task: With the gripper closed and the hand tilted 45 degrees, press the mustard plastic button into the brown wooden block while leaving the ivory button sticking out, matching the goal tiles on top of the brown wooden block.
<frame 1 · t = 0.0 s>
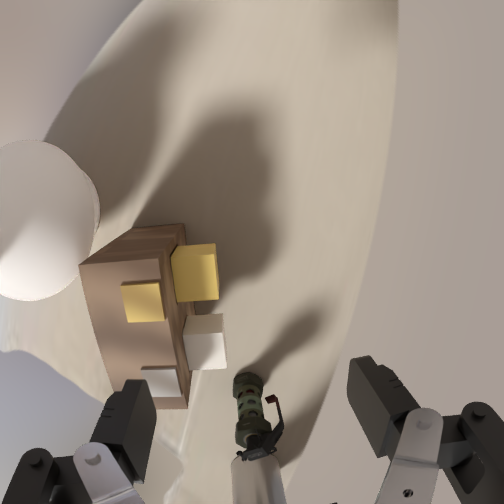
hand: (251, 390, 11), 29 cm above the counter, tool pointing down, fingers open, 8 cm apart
brown wooden block: (190, 280, 41), on the counter
ivory button: (197, 342, 33), point 9 cm above the counter, slide at 0.0 cm
mustard button: (186, 272, 31), point 9 cm above the counter, slide at 0.0 cm
grenade: (252, 382, 46), on the counter
decorative vase: (61, 209, 37), on the counter
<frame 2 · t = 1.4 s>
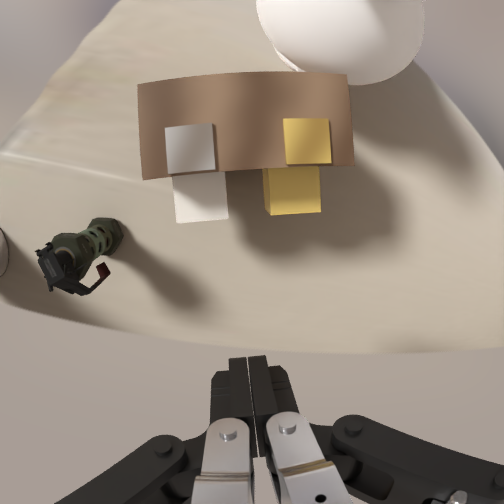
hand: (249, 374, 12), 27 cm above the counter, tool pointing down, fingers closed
brown wooden block: (240, 169, 36), on the counter
ivory button: (201, 184, 28), point 9 cm above the counter, slide at 0.0 cm
mustard button: (289, 177, 28), point 9 cm above the counter, slide at 0.0 cm
grenade: (107, 240, 37), on the counter
decorative vase: (319, 38, 33), on the counter
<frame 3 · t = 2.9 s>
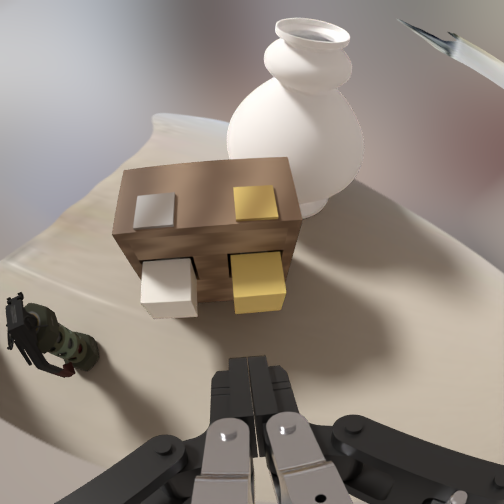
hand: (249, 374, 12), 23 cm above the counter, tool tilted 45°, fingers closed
brown wooden block: (219, 301, 38), on the counter
ivory button: (170, 280, 29), point 9 cm above the counter, slide at 0.0 cm
mustard button: (255, 274, 30), point 9 cm above the counter, slide at 0.0 cm
grenade: (84, 360, 33), on the counter
decorative vase: (288, 186, 47), on the counter
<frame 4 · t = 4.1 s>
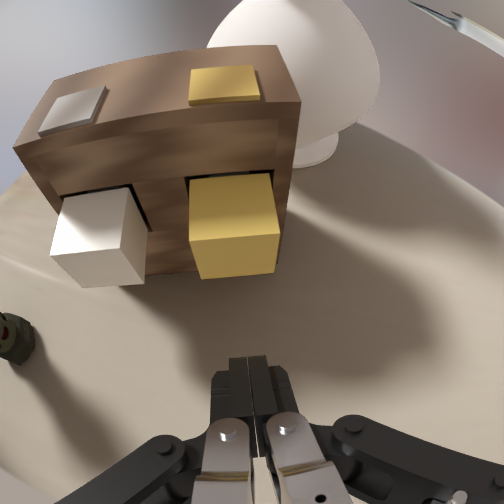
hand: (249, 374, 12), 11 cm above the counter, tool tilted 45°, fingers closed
brown wooden block: (189, 271, 27), on the counter
ivory button: (104, 227, 18), point 9 cm above the counter, slide at 0.0 cm
mustard button: (232, 213, 19), point 9 cm above the counter, slide at 0.0 cm
grenade: (18, 351, 22), on the counter
decorative vase: (285, 133, 36), on the counter
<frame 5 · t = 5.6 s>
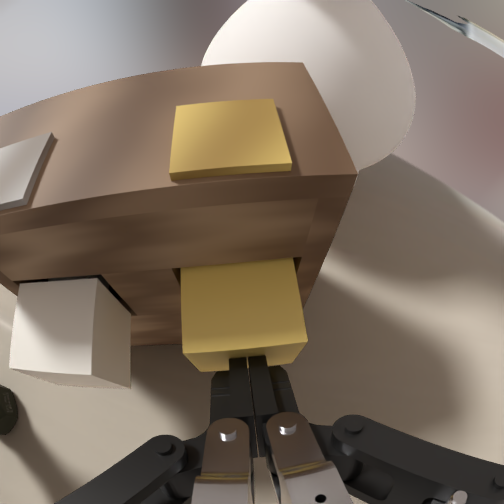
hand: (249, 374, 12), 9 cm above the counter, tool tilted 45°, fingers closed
brown wooden block: (186, 343, 22), on the counter
ivory button: (75, 319, 13), point 9 cm above the counter, slide at 0.0 cm
mustard button: (239, 293, 14), point 9 cm above the counter, slide at 0.8 cm, touching gripper
grenade: (2, 418, 17), on the counter
decorative vase: (297, 161, 31), on the counter
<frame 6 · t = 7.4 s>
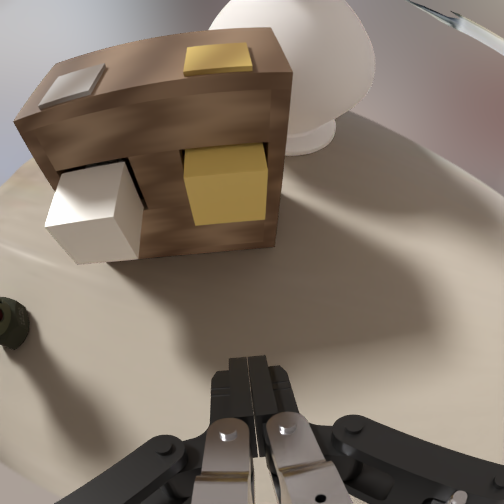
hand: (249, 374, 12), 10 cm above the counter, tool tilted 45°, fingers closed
brown wooden block: (186, 254, 27), on the counter
ivory button: (100, 202, 18), point 9 cm above the counter, slide at 0.0 cm
mustard button: (225, 164, 19), point 9 cm above the counter, slide at 2.0 cm
grenade: (13, 336, 22), on the counter
decorative vase: (283, 122, 36), on the counter
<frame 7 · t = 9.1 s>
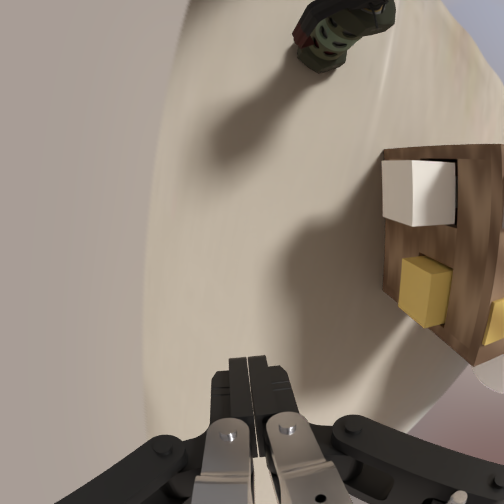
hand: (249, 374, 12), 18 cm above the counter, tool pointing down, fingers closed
brown wooden block: (385, 222, 31), on the counter
ivory button: (428, 190, 21), point 9 cm above the counter, slide at 0.0 cm
mustard button: (441, 287, 23), point 9 cm above the counter, slide at 2.0 cm
grenade: (309, 52, 26), on the counter
decorative vase: (480, 296, 35), on the counter
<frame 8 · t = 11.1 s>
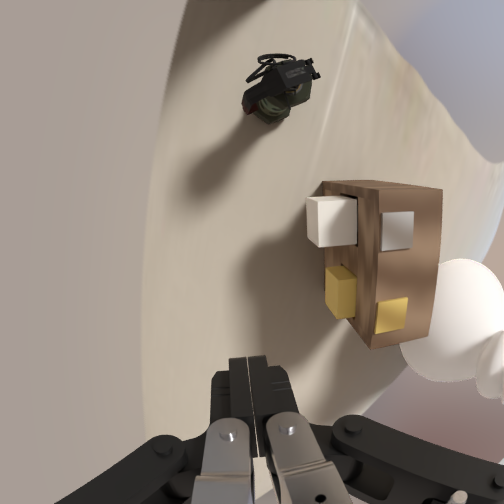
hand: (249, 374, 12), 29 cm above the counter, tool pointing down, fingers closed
brown wooden block: (324, 237, 42), on the counter
ivory button: (339, 219, 32), point 9 cm above the counter, slide at 0.0 cm
mustard button: (356, 289, 34), point 9 cm above the counter, slide at 2.0 cm
grenade: (263, 106, 37), on the counter
decorative vase: (421, 297, 46), on the counter
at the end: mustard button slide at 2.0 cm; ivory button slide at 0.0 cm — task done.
